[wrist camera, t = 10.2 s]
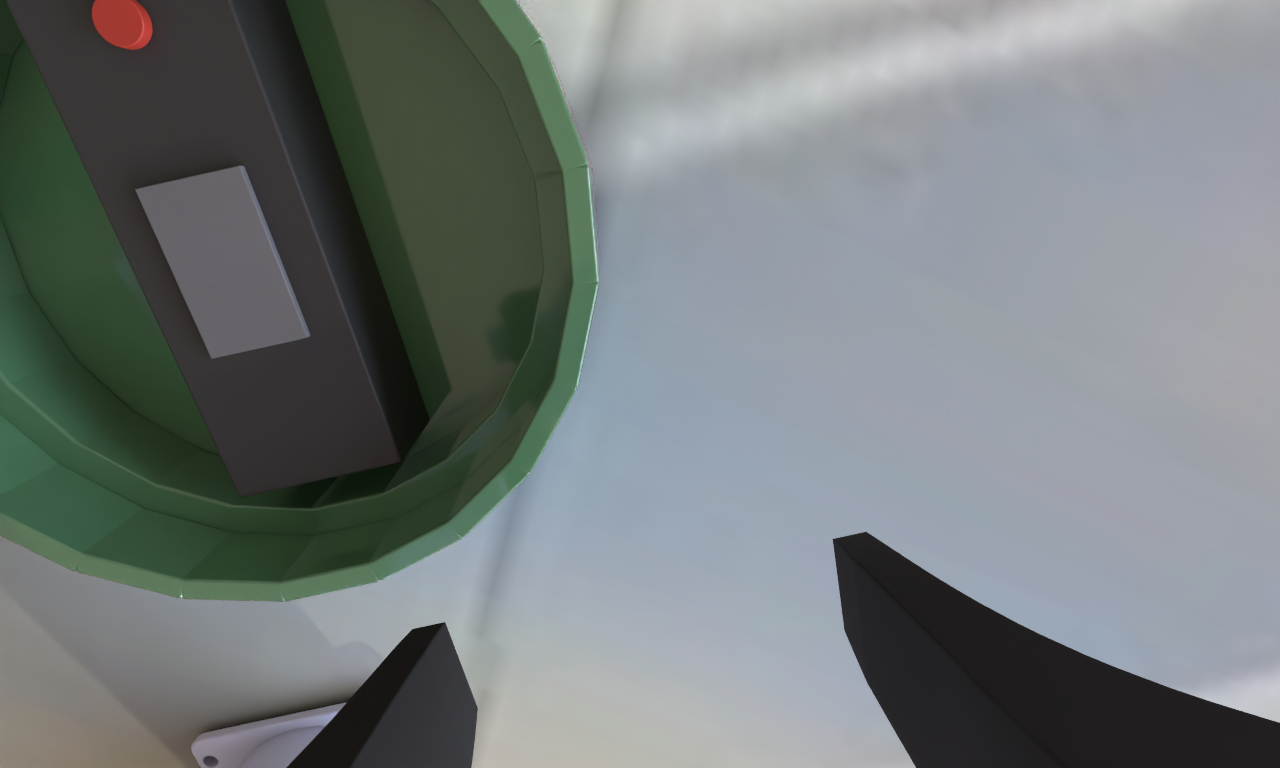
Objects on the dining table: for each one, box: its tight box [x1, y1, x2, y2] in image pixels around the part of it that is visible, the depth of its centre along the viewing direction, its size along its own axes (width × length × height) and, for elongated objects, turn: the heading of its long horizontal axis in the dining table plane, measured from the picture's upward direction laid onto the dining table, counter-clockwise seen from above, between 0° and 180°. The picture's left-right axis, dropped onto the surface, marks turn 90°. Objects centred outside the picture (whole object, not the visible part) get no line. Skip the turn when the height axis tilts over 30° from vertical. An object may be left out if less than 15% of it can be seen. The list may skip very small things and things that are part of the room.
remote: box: [6, 0, 430, 497], centre depth 16 cm, size 12×4×3 cm, turn 12°
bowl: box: [0, 0, 600, 602], centre depth 16 cm, size 17×17×5 cm
